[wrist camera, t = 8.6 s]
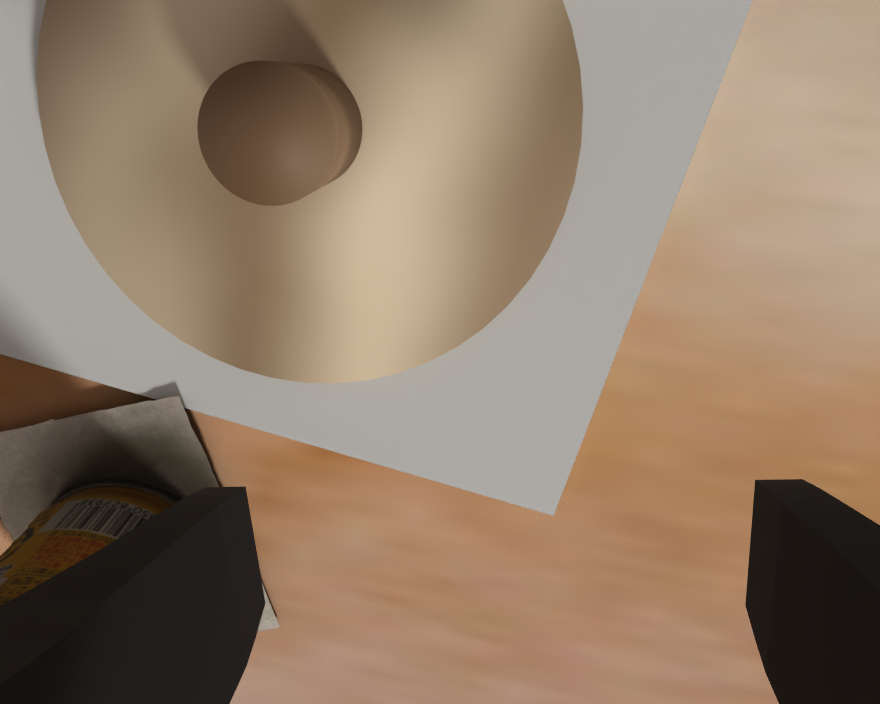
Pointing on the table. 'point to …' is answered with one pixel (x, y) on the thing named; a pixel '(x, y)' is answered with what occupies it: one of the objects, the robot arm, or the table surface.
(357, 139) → the lid
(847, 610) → the robot arm
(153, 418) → the condiment
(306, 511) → the table surface
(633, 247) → the mat
